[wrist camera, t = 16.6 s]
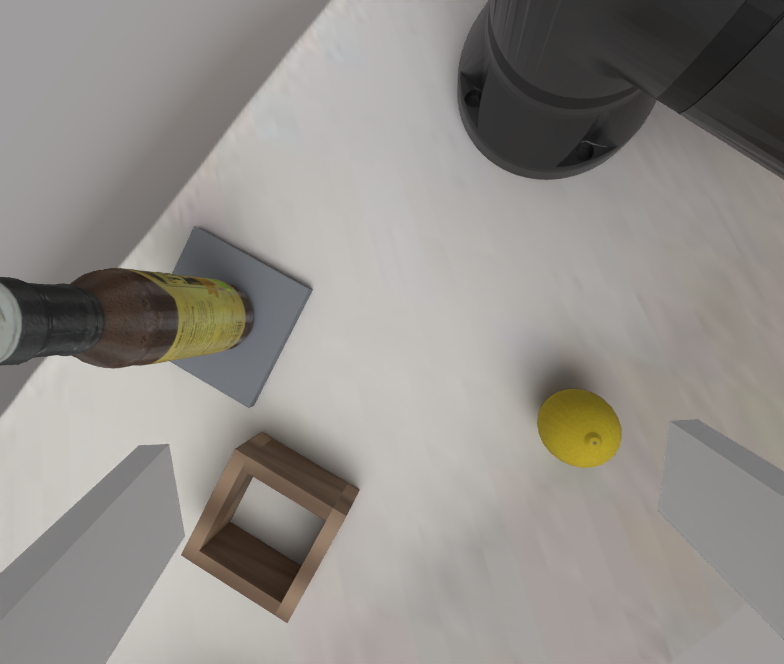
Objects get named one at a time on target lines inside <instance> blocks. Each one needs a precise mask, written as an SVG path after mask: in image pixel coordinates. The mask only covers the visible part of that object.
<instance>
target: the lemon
mask: <svg viewBox="0 0 784 664" xmlns="http://www.w3.org/2000/svg"><path fill="white" fill-rule="evenodd" d="M537 425H538V432H539V435H540V437H541V440H542V442H543V444H544V445H545V446H546V448H547V449H548V450H549V452H550V453H551V454H553V455H554V456H555V457H557V458H558V459H559V460H561V461H563V462H565V463H567V464H569V465H572V466H577V467H582V468H588V467H595V466H599V465H602V464H604V463H605V462H607V461H609V460H610V459H611V458H612V457H613V456H614V455H615V453H616V452H617V450H618V448H619V446H620V442H621V426H620V422H619V419H618V417H617V415H616V414H615V412H614V410H613V409H612V407H611V406H610V405H609V404H608V403H607V402H606V401H605V400H604V399H602V398H601V397H599V396H597V395H596V394H594V393H592V392H589V391H586V390H582V389H566V390H561V391H559V392H557V393H555V394H553V395H551V396H550V397H549V398H548V399H546V401H545V402H544V403H543V405H542V406H541V409H540V411H539V414H538V421H537Z"/></svg>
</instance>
